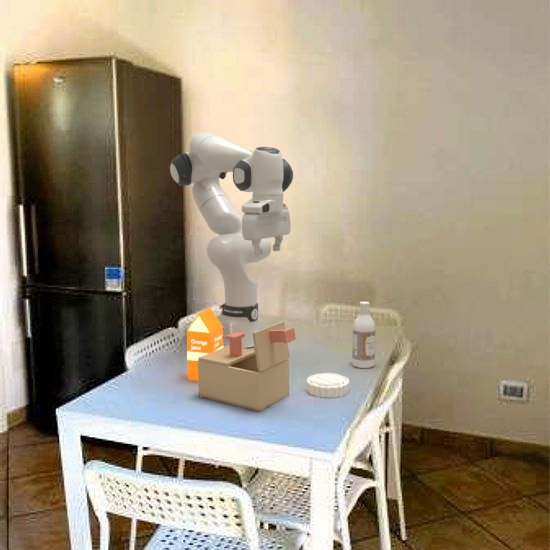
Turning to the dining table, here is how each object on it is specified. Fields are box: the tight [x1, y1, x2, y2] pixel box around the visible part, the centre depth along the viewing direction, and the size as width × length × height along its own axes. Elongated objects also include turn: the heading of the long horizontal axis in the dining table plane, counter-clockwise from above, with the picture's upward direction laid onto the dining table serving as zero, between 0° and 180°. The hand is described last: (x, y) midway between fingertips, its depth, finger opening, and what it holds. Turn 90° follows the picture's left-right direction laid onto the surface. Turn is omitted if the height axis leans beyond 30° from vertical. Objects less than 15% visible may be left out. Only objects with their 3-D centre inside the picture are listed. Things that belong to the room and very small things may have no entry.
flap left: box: [198, 332, 255, 367], centre depth 166 cm, size 10×14×7 cm
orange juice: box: [186, 307, 223, 382], centre depth 180 cm, size 8×9×20 cm
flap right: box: [252, 321, 297, 371], centre depth 156 cm, size 10×14×7 cm
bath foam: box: [351, 301, 376, 369], centre depth 189 cm, size 7×7×20 cm
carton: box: [197, 354, 290, 413], centre depth 165 cm, size 20×14×10 cm
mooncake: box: [305, 372, 351, 399], centre depth 169 cm, size 12×12×4 cm
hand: (267, 252), depth 177 cm, fingers open, 8 cm apart
